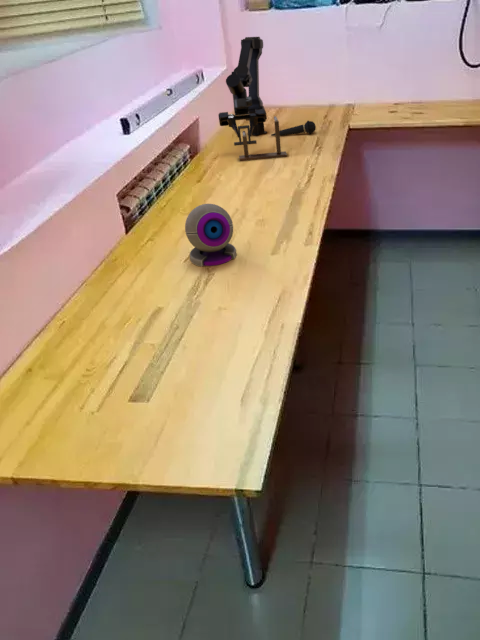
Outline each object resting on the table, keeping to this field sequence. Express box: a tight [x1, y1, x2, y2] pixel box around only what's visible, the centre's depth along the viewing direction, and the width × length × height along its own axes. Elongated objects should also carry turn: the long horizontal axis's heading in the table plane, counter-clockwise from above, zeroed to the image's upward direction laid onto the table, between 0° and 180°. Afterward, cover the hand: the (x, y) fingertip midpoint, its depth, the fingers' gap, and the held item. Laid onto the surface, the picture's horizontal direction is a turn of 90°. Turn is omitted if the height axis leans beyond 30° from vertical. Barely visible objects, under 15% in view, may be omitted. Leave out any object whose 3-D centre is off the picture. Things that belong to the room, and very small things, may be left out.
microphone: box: [270, 120, 317, 137], centre depth 273 cm, size 6×6×20 cm
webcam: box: [184, 203, 238, 267], centre depth 169 cm, size 13×13×15 cm
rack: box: [238, 115, 288, 162], centre depth 246 cm, size 8×19×14 cm, turn 96°
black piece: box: [233, 124, 258, 147], centre depth 247 cm, size 2×9×7 cm, turn 96°
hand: (244, 136), depth 246 cm, fingers closed on black piece, 4 cm apart
